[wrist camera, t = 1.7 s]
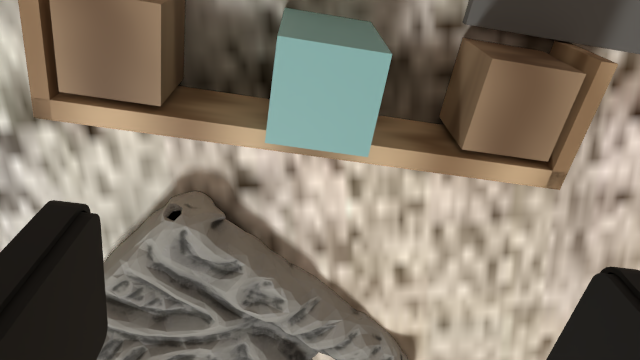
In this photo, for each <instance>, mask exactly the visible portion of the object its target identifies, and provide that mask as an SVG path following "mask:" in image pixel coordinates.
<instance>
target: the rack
mask: <svg viewBox="0 0 640 360" xmlns="http://www.w3.org/2000/svg"><path fill="white" fill-rule="evenodd" d="M18 3H19V10H20V18H21V25H22V33H23V40H24V47H25V55H26V62H27V70H28V77H29V85H30V92H31V100H32V107H33V114H34V118H39V119H46V120H54V121H61V122H68V123H76V124H83V125H90V126H98V127H105V128H112V129H119V130H127V131H134V132H141V133H149V134H156V135H163V136H171V137H178V138H185V139H192V140H200V141H207V142H214V143H222V144H229V145H236V146H244V147H251V148H258V149H265V150H273V151H280V152H287V153H295V154H302V155H309V156H317V157H324V158H331V159H339V160H346V161H353V162H360V163H368V164H375V165H382V166H390V167H397V168H404V169H412V170H419V171H426V172H433V173H441V174H448V175H455V176H463V177H470V178H477V179H485V180H492V181H499V182H506V183H514V184H521V185H528V186H536V187H543V188H550V189H558V190H560V188H561V186H562V183H563V181H564V179H565V177H566V175H567V173H568V171H569V169H570V166H571V164H572V162H573V160H574V158H575V156H576V154H577V151H578V149H579V147H580V145H581V143H582V141H583V139H584V136H585V134H586V132H587V130H588V128H589V126H590V124H591V121H592V119H593V117H594V115H595V113H596V111H597V109H598V106H599V104H600V102H601V100H602V98H603V96H604V94H605V91H606V89H607V87H608V85H609V83H610V81H611V79H612V76H613V74H614V72H615V70H616V68H617V66H618V64H617V63H614V62H612V61H610V60H608V59H605V58H603V57H601V56H598V55H596V54H594V53H592V52H589V51H587V50H585V49H582V48H580V47H578V46H576V45H573V44H571V43H569V42H563V41H557V40H555V41H554V44H553V46H552V49H551V52H550V54H547V53H545V52H543V51H539V50H534V49H528V48H522V47H516V46H510V45H504V44H498V43H492V42H486V41H480V40H474V39H468V38H463V39H462V42H461V45H460V49H459V52H458V55H457V59H456V62H455V65H454V69H453V72H452V75H451V79H450V82H449V85H448V89H447V92H446V95H445V98H444V102H443V105H442V108H441V112H440V115H439V117H440V119H441V120H442V122H443V123H444V125H441V124H434V123H427V122H420V121H414V120H407V119H400V118H393V117H387V116H380V115H378V117H377V122H376V126H375V130H374V134H373V139H372V143H371V147H370V152H369V156H368V157H363V156H355V155H348V154H341V153H334V152H327V151H319V150H312V149H305V148H298V147H290V146H283V145H276V144H269V143H265V137H266V129H267V120H268V112H269V103H270V99H265V98H258V97H251V96H244V95H238V94H231V93H224V92H217V91H211V90H204V89H197V88H190V87H183V86H178V85H179V83H180V82H181V81H182V80H183V77H184V38H185V0H18Z"/></svg>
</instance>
